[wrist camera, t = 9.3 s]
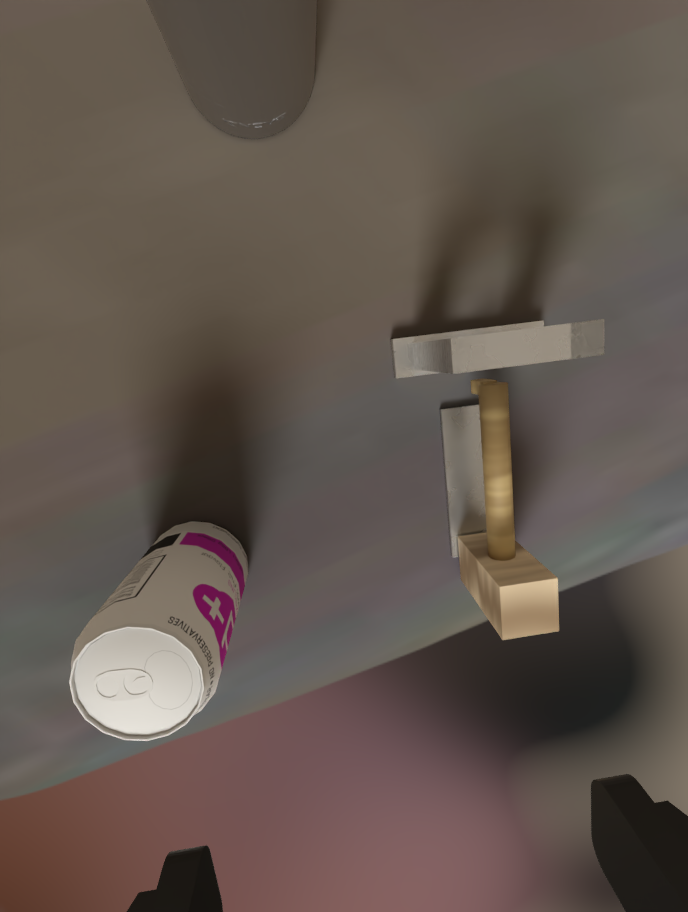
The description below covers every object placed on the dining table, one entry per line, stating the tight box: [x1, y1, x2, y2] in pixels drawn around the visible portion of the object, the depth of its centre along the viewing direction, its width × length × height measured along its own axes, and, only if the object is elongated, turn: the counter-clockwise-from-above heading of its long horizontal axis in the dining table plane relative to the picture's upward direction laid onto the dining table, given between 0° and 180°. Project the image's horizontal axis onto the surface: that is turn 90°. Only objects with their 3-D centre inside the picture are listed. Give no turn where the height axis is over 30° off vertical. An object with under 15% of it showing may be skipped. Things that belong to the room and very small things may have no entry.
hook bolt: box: [458, 379, 559, 640], centre depth 35 cm, size 17×4×9 cm, turn 7°
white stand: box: [390, 319, 604, 558], centre depth 34 cm, size 19×12×11 cm, turn 7°
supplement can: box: [69, 521, 249, 741], centre depth 32 cm, size 8×8×15 cm
